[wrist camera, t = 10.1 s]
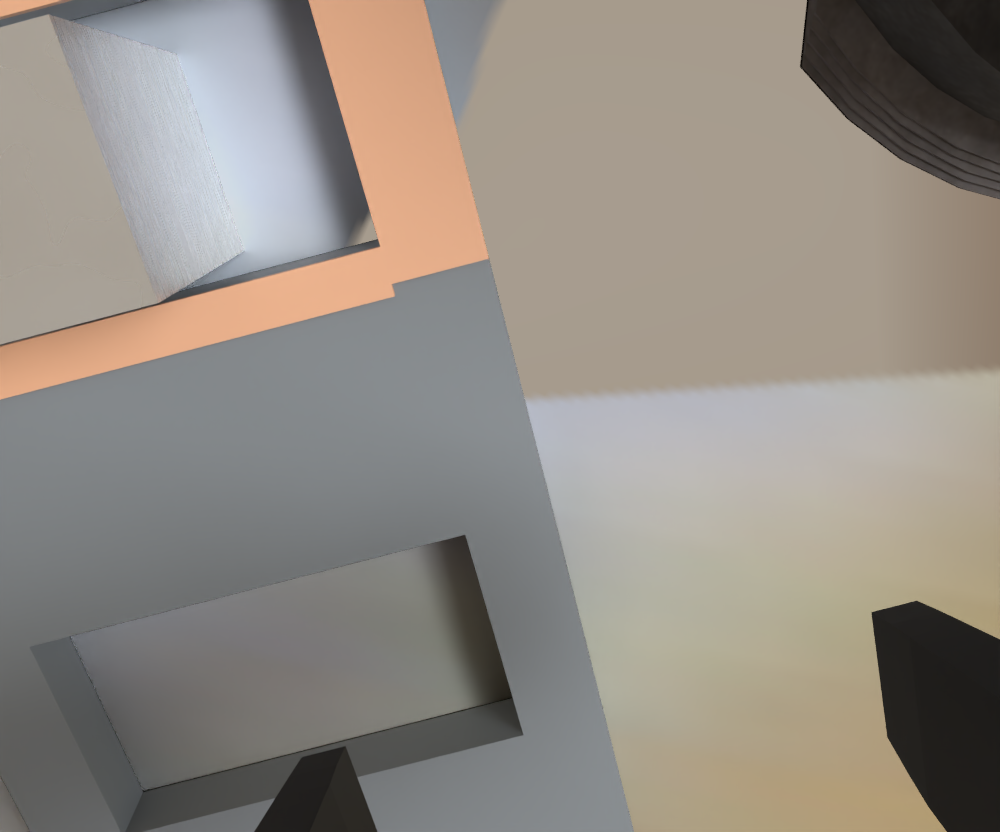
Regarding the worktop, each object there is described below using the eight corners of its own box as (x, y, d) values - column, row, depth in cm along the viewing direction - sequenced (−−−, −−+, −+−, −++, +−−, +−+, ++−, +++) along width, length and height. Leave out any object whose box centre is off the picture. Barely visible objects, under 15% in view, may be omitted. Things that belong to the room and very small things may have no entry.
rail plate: (130, 931, 24) (107, 989, 22) (-412, -126, 16) (-511, -156, 14) (626, 806, 24) (640, 855, 22) (338, -331, 15) (326, -385, 14)
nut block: (63, 298, 19) (-102, 371, 13) (-17, 105, 17) (-240, 91, 12) (244, 251, 19) (158, 302, 13) (177, 54, 17) (48, 14, 12)
